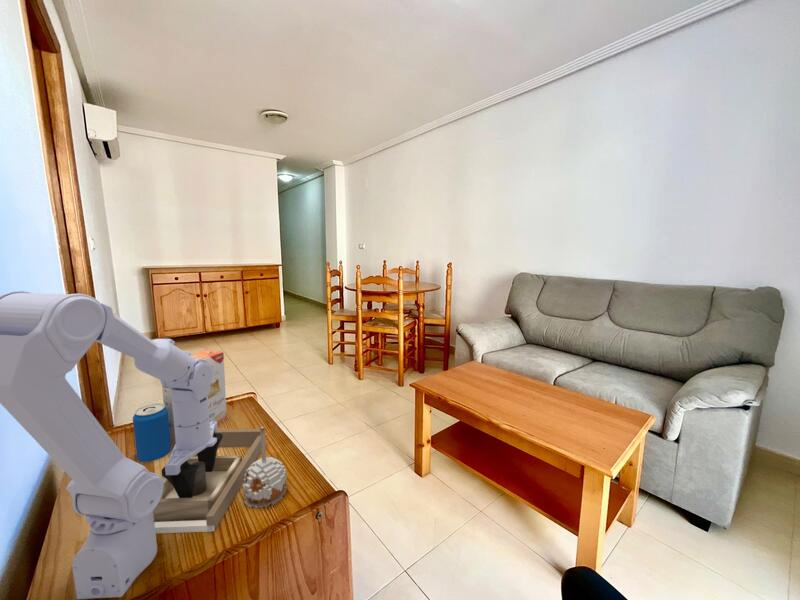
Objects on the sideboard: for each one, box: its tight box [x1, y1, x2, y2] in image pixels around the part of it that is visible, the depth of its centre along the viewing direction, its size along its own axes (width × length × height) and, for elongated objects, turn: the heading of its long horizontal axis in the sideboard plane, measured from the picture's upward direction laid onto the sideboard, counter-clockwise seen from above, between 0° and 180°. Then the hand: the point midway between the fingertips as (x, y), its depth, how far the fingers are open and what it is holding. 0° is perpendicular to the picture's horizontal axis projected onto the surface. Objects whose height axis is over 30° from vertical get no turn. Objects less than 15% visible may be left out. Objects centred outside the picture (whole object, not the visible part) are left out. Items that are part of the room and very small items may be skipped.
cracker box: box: [161, 349, 228, 445], centre depth 87 cm, size 14×6×21 cm, turn 164°
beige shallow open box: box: [153, 454, 243, 521], centre depth 65 cm, size 13×12×6 cm
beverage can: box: [132, 403, 172, 463], centre depth 77 cm, size 6×6×12 cm
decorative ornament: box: [242, 426, 288, 509], centre depth 65 cm, size 8×8×15 cm
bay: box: [154, 428, 261, 535], centre depth 69 cm, size 26×15×5 cm, turn 4°
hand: (197, 483), depth 65 cm, fingers open, 7 cm apart
